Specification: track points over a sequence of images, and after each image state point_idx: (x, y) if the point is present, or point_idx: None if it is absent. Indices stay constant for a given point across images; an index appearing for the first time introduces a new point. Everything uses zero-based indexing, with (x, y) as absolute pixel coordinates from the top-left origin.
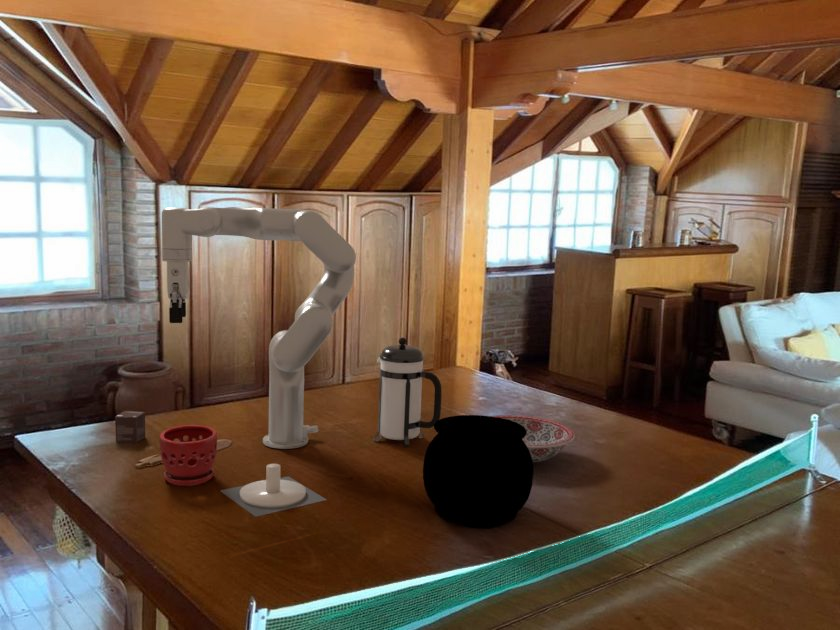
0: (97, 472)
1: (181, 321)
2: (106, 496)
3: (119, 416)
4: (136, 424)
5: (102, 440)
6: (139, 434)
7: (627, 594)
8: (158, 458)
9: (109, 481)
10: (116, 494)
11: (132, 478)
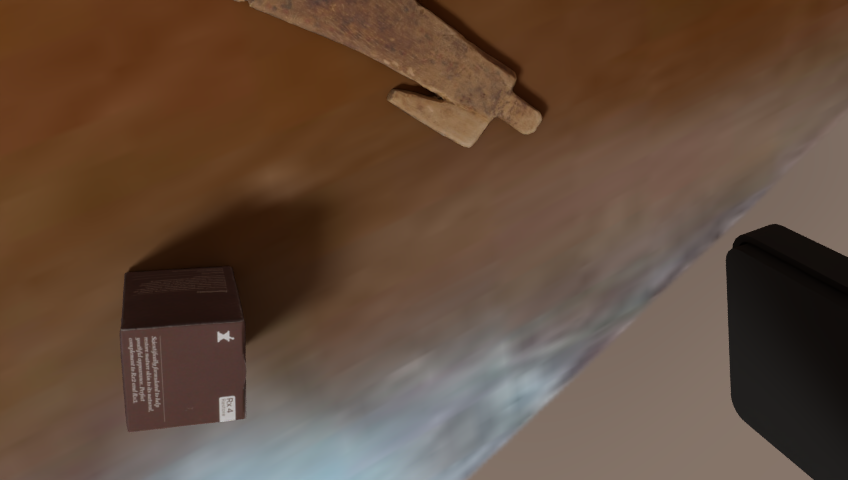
0: (585, 236)
1: (784, 239)
2: (785, 102)
3: (241, 401)
4: (236, 303)
5: None
6: (202, 278)
7: None
8: (463, 69)
9: (664, 155)
10: (772, 78)
11: (637, 90)
